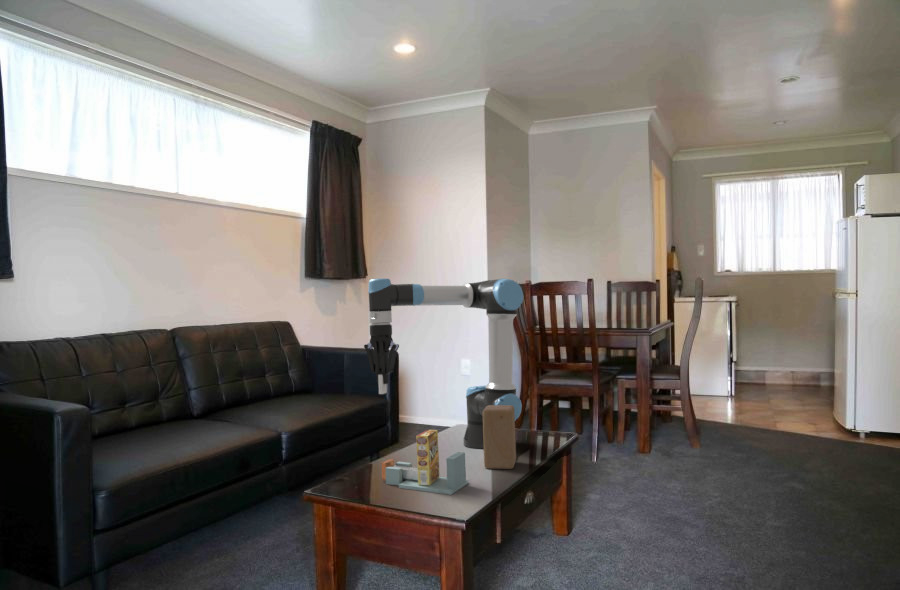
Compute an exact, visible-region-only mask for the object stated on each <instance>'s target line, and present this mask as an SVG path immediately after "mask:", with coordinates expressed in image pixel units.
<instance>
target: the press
mask: <svg viewBox="0 0 900 590" xmlns="http://www.w3.org/2000/svg"><path fill="white" fill-rule="evenodd" d="M395 465H396V466H405V467H413V463H412V462H406V461H405V462H404V461H397V462H396V463H395ZM466 468H467V467H466V452H464V451H463V452H461V451H458V452H455V453H453V454H452V455H450V456H448V457H447V458H446V476H440V477H439V479H437V480H436V481H435V482H434V483H432V484H431V485H430V486H427V485H418V480H413V479H404V478H402V468H397V467H387V468H385V470H386V480H385V484H386V485H393V486H398V489H404V490H413V491H420V492H429V493H435V494H445V495H453V494H455V492H458V491H459V490H460V489H462V488H463V487H465V486H466V485H468V483H469V479H467V476H466V475H467V472H466Z"/></svg>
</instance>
